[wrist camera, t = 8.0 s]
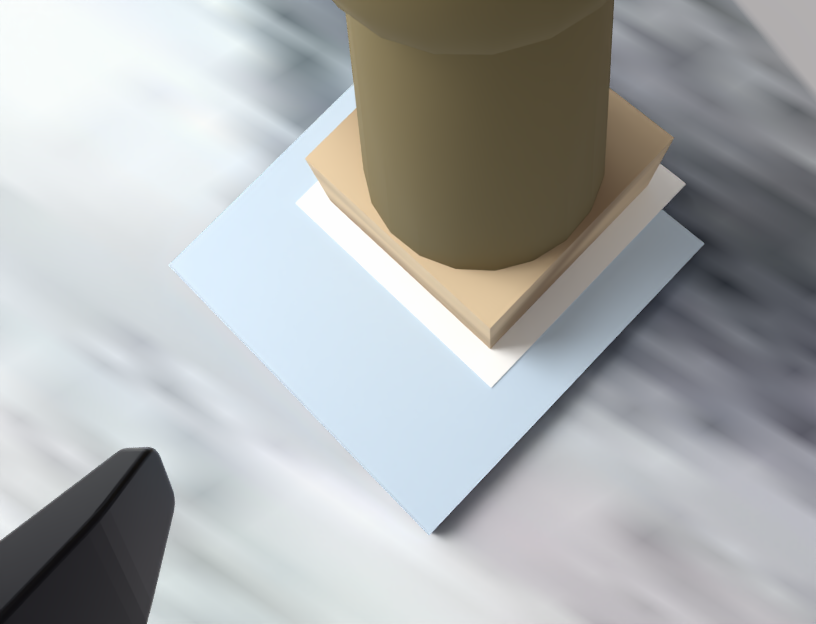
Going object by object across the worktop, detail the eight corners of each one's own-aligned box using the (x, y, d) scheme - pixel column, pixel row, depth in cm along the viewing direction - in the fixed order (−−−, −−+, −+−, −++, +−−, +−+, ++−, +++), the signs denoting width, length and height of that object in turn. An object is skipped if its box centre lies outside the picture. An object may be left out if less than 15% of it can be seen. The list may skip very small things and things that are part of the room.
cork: (623, 257, 17) (849, -107, 6) (371, 283, 17) (181, -8, 7) (588, 31, 18) (727, -588, 8) (355, 62, 19) (177, -472, 8)
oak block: (490, 349, 20) (489, 328, 17) (330, 200, 21) (304, 158, 18) (647, 185, 20) (674, 137, 17) (480, 51, 22) (479, -14, 19)
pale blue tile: (430, 533, 20) (428, 535, 19) (176, 270, 22) (167, 264, 21) (721, 225, 20) (729, 217, 20) (445, 6, 23) (444, -7, 22)
